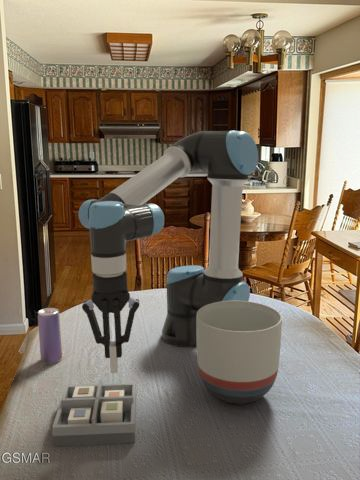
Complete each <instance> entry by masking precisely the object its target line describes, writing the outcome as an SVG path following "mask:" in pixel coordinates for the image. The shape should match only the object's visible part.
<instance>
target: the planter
mask: <svg viewBox="0 0 360 480" xmlns="http://www.w3.org/2000/svg"><path fill="white" fill-rule="evenodd" d="M282 323H283V317H282V314H281V313H280V312H279V310H278V309H276V308H273V307H271V306H269V305H266V304H263V303H259V302H254V301H221V302H215V303H211V304H208V305H205V306H203V307H202V308H200V309H199V310H198V312H197V315H196V340H197V346H196V359H197V360H196V362H197V370H198V373H199V377H200V380H201V382H202V385H204V387H205V388H206V389H207V391H208V392H209V393H211V394H212V395H213V396H214V397H216V398H217V399H219V400H221V401H224V402H226V403H229V404H235V405H236V404H237V405H242V404H249V403H252V402H256V401H257V400H259V399H261V398H262V397H264V396H265V395H266V394H267V393H268V392H270V390H271V389H272V388H273V386H274V383H275V382H276V378H277V375H278V372H279V366H280V356H281V355H280V354H281V344H282V343H281V341H282V325H283V324H282Z"/></svg>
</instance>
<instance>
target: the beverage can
mask: <svg viewBox="0 0 360 480" xmlns="http://www.w3.org/2000/svg"><path fill="white" fill-rule="evenodd" d="M37 314H38V315H37V325H38V337H39V351H40V361H41V362H42V363H43V364H45V365H53V364H56V363H59V362H60V361H61V360H62V357H63V351H62V347H63V346H62V334H61V333H62V331H61V317H60V316H61V315H60V311H59V309H58V308H55V307H45V308H42V309H40V310H38V311H37Z"/></svg>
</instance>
